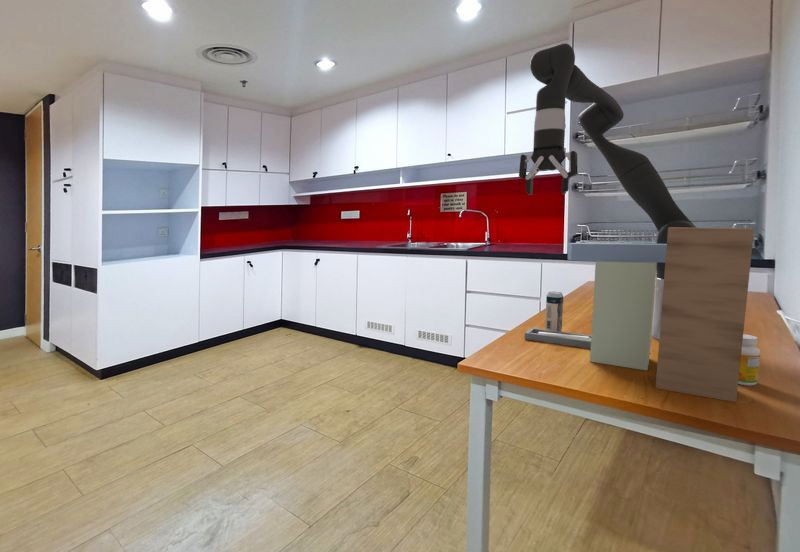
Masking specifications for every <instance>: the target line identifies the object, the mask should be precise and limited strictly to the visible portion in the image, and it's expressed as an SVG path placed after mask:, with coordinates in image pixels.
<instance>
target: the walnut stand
mask: <svg viewBox="0 0 800 552" xmlns="http://www.w3.org/2000/svg"><path fill="white" fill-rule="evenodd" d="M754 233H755V228H750V227H697V228H677V227H669V228H668V236H667V249H666V261H665V274H664V287H663V299H662V312H661V325H660V337H659V341H658V350H657V351H658V352H657V354H658V355H657V363H656V365H657V366H656V377H655V389H658V390H664V391H670V392H674V393H675V392H676V393H682V394H688V395H693V396H699V397H705V398H710V399H715V400H721V401H727V402H732V403H733V402H734V403H737V400H738V399H737V398H738V389H739V384H738V380H739V370H740V361H741V351H742V341H743V334H744V333H745V332H744V329H745V321H746V311H747V301H748V300H747V299H748V291H749V282H750V273H751V263H752V262H751V261H752V254H753V253H752V252H753V243H754Z"/></svg>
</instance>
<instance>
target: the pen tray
mask: <svg viewBox="0 0 800 552" xmlns="http://www.w3.org/2000/svg"><path fill="white" fill-rule="evenodd" d="M538 332H546V333H557V334H567V335H577V336H587V337H589V338H591V334H582V333H575V332H567V331H553V330H545V328H544V329H543V328H538V327H530V328H529V329H528V330H527V331H525V332H524V340H528V341H535V342H542V343H550V344H558V345H563V346H564V345H565V346H570V347H576V348H577V347H578V348H584V349H590V350H591V341H588V340H581V339H573V338H566V337H558V336H551V335H544V334H538Z"/></svg>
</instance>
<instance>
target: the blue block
mask: <svg viewBox="0 0 800 552" xmlns="http://www.w3.org/2000/svg"><path fill="white" fill-rule="evenodd" d="M567 246H568V247H567V260H568V261H571V262H596V261H604V262H665V261H666V249H667V244H657V243H628V242H627V243H620V242H619V243H617V242H616V243H615V242H614V243H613V242H612V243H611V242H608V243H607V242H568V245H567Z"/></svg>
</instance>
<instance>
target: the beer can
mask: <svg viewBox="0 0 800 552" xmlns="http://www.w3.org/2000/svg"><path fill="white" fill-rule="evenodd" d="M545 301H546V302H545V303H546V304H545V322H544V329H545V330H553V331H561V332H563V311H564V309H563V308H564V295H563V293H562V292H559V291H548V292H547V294H546V300H545Z"/></svg>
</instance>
